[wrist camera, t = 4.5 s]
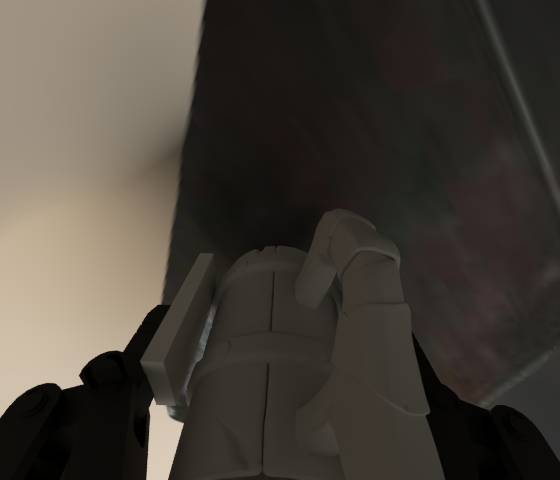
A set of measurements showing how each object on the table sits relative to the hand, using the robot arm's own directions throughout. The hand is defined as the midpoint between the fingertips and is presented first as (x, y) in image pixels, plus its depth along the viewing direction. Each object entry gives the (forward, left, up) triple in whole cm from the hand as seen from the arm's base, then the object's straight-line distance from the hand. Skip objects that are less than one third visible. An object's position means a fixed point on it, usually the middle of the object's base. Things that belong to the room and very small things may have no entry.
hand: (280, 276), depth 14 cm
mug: (0, +1, -1) cm, 1 cm away
